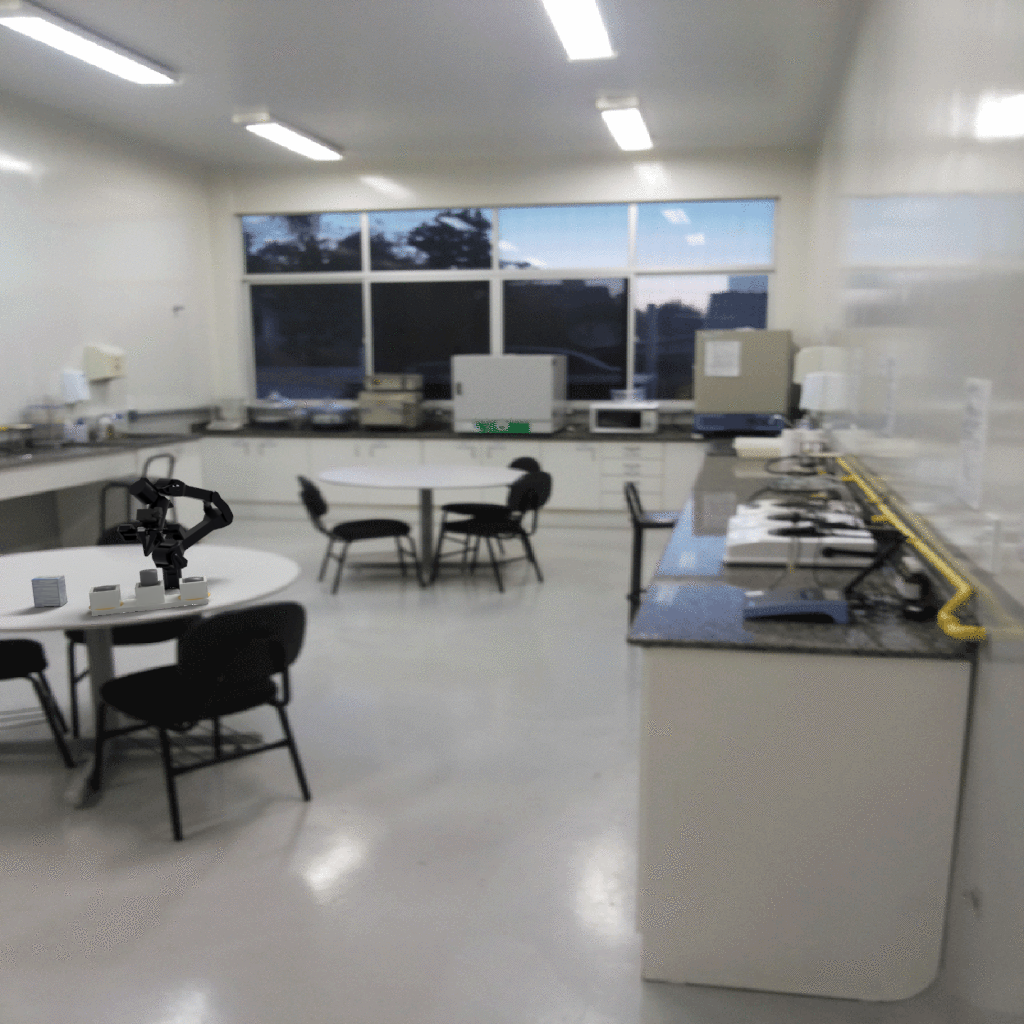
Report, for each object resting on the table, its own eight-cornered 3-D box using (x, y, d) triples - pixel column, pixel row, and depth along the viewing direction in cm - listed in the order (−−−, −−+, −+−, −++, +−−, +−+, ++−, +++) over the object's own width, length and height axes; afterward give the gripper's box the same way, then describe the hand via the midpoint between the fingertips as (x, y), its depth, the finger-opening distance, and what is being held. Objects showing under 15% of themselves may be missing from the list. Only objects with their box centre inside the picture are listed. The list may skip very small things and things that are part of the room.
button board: (90, 608, 258) (88, 586, 257) (210, 595, 270) (208, 574, 269) (87, 617, 249) (85, 594, 248) (211, 603, 260) (209, 581, 259)
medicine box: (68, 602, 265) (65, 574, 263) (61, 606, 261) (58, 578, 259) (41, 603, 265) (38, 575, 263) (34, 607, 260) (30, 579, 259)
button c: (97, 599, 256) (95, 586, 255) (115, 597, 258) (114, 584, 257) (96, 603, 252) (94, 590, 251) (114, 602, 253) (113, 588, 253)
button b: (140, 583, 260) (139, 570, 259) (158, 581, 261) (157, 568, 261) (140, 587, 255) (139, 573, 254) (158, 585, 257) (156, 571, 256)
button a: (185, 590, 264) (184, 577, 264) (202, 588, 266) (201, 575, 265) (185, 594, 260) (184, 581, 259) (202, 592, 262) (201, 579, 261)
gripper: (116, 498, 266) (103, 542, 257) (178, 497, 266) (168, 540, 257) (130, 519, 275) (118, 562, 266) (190, 517, 275) (180, 560, 266)
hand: (145, 555), depth 264 cm, fingers closed
